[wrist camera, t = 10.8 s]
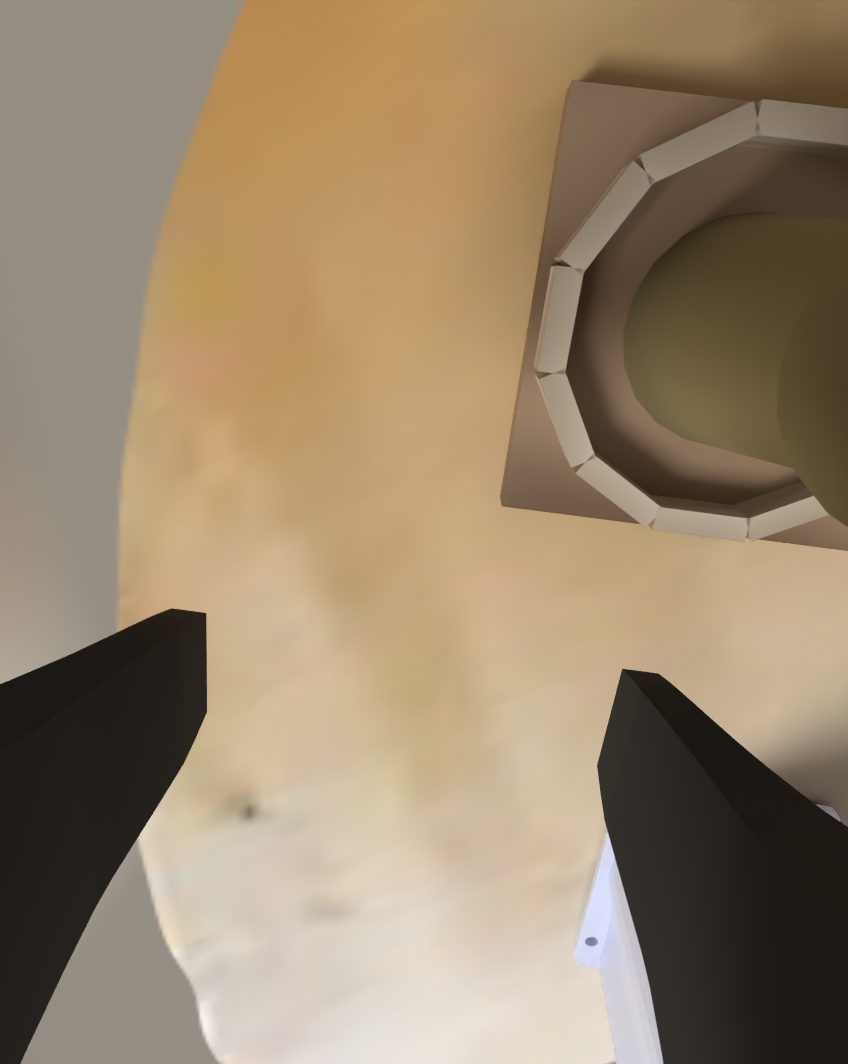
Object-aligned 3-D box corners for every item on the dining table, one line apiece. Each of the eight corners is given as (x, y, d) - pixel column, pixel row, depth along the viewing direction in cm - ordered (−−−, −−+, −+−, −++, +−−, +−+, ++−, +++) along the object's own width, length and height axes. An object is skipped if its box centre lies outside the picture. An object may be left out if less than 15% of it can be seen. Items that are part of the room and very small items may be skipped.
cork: (882, 213, 16) (1565, 96, 6) (824, 449, 19) (1259, 651, 8) (638, 208, 17) (905, 88, 7) (609, 440, 19) (774, 624, 9)
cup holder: (848, 541, 21) (890, 569, 18) (500, 496, 21) (503, 519, 19) (998, 141, 17) (1072, 121, 15) (566, 91, 17) (579, 64, 15)
